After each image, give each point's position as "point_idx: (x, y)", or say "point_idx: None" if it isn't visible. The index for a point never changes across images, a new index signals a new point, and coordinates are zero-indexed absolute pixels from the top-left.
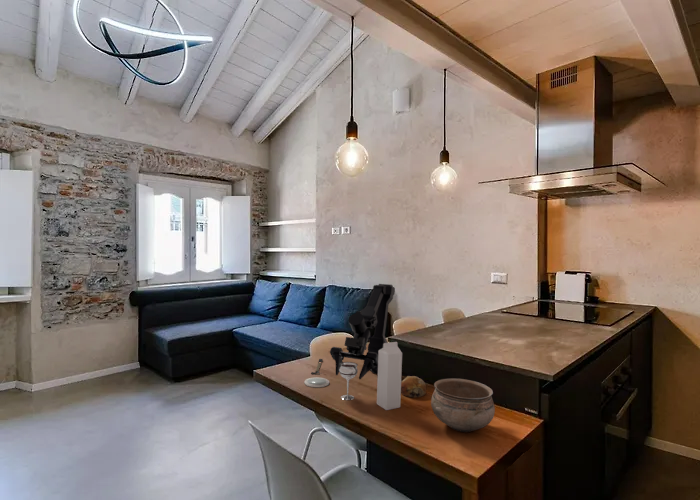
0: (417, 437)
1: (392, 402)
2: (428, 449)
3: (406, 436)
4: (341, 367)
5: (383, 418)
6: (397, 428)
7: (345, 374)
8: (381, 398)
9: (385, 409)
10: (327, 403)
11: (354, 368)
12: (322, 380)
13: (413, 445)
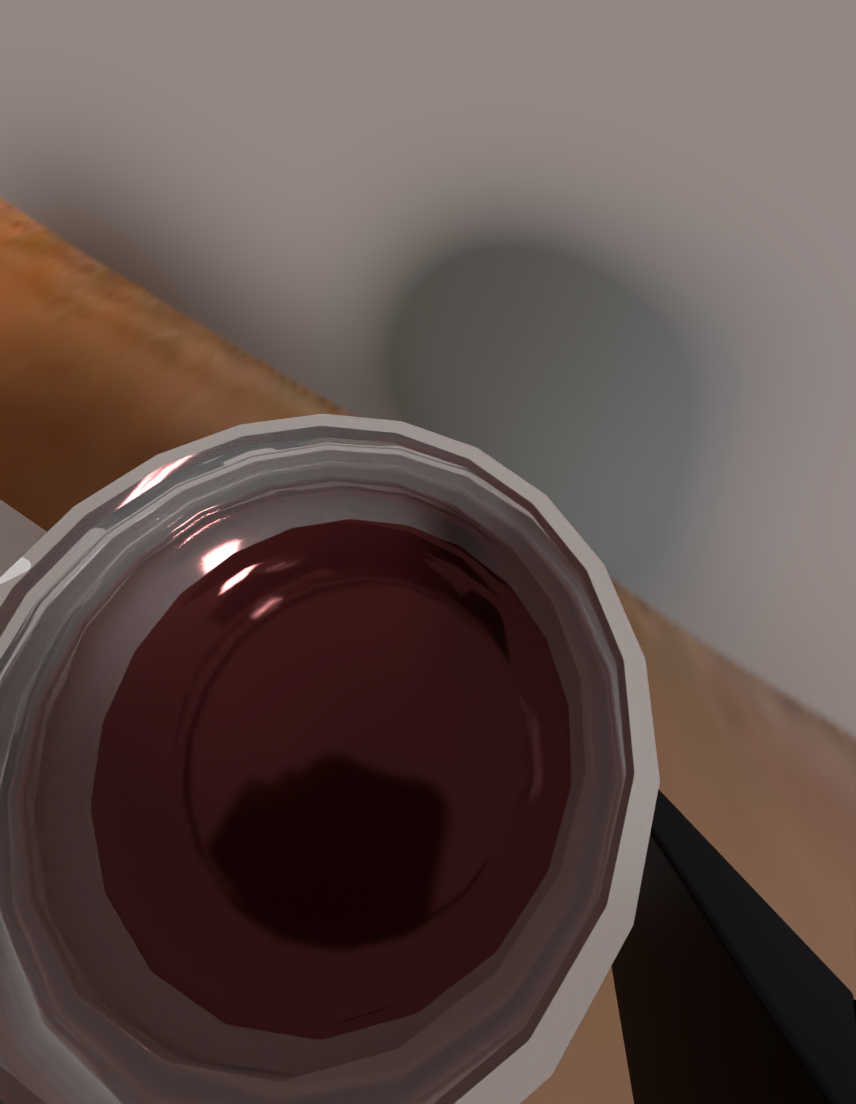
0: (10, 292)
1: None
2: (13, 236)
3: (63, 292)
4: (511, 541)
5: (122, 423)
6: (77, 341)
7: (390, 529)
8: (15, 553)
9: None
10: None
11: (141, 549)
12: None
13: (64, 248)
